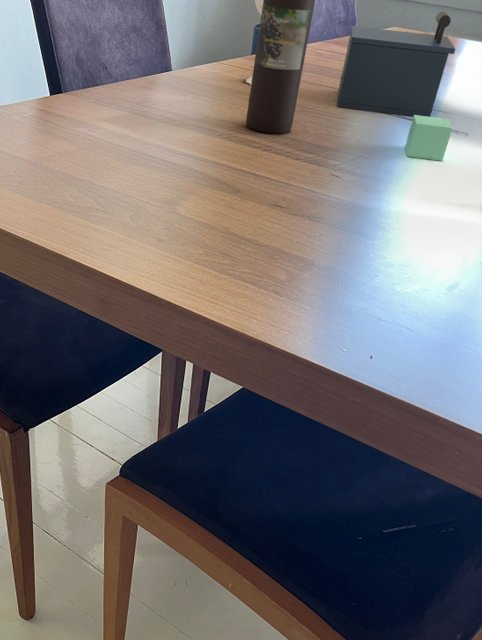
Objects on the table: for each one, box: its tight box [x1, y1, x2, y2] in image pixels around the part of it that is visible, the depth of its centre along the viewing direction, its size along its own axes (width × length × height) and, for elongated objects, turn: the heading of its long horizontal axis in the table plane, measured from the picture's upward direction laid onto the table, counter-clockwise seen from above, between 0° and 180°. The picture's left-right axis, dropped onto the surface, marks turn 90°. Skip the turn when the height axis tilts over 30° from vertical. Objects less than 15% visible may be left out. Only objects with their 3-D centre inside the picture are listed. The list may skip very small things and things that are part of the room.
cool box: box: [336, 33, 449, 117], centre depth 127 cm, size 16×13×10 cm
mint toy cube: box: [404, 115, 453, 162], centre depth 105 cm, size 5×5×4 cm
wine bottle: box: [245, 0, 316, 135], centre depth 102 cm, size 7×7×30 cm
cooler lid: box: [350, 10, 456, 55], centre depth 122 cm, size 16×13×5 cm
